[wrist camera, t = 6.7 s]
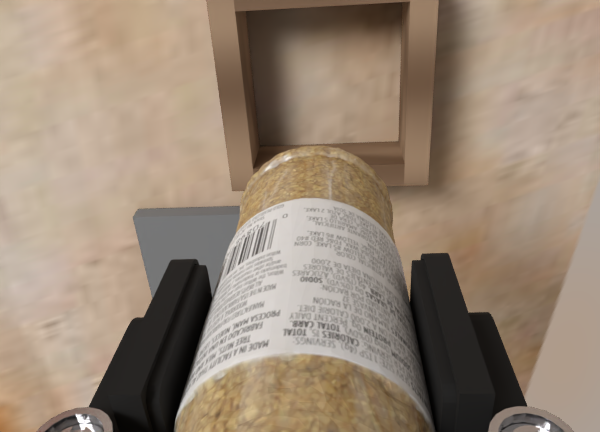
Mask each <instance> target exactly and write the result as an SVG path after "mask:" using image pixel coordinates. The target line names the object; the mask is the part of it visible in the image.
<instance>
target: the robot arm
mask: <svg viewBox="0 0 600 432" xmlns="http://www.w3.org/2000/svg"><path fill="white" fill-rule="evenodd" d="M211 301H212V292H211V286H210V281H209V275H208V270H207V267H206V265H199V262H198V260H197V259H173V260H171V261H170V262H169V264H168V267H167V269H166V271H165V273H164V275H163V277H162V279H161V282H160V284H159V286H158V288H157V290H156V292H155V295H154V297H153V299H152V301H151V303H150V305H149V308H148V310H147V312H146V314H145V316H144V318H134V319H133V320H132V321H131V323H130V324H129V326H128V328H127V330H126V332H125V334H124V336H123V338H122V340H121V342H120V344H119V346H118V348H117V350H116V352H115V354H114V357H113V359H112V361H111V363H110V365H109V367H108V369H107V371H106V373H105V375H104V377H103V379H102V381H101V383H100V385H99V387H98V389H97V391H96V393H95V395H94V397H93V399H92V401H91V403H90V405H89V407H85V408H75V409H72V410H68V411H65V412H63V413H61V414H59V415H57V416H55V417H53V418H51V419H50V420H49V421H47V422H46V423H45V424H43V425H42V426H41V427H40V428H39V429H38V430H37V432H174V426H175V418H176V415H177V412H178V408H179V405H180V402H181V398H182V395H183V392H184V388H185V385H186V382H187V378H188V375H189V372H190V368H191V365H192V362H193V359H194V355H195V352H196V348H197V345H198V342H199V338H200V335H201V332H202V329H203V326H204V323H205V320H206V317H207V314H208V310H209V307H210V304H211ZM410 306H411V311H412V315H413V320H414V325H415V330H416V335H417V340H418V345H419V350H420V355H421V360H422V365H423V370H424V375H425V380H426V385H427V390H428V395H429V400H430V405H431V410H432V415H433V420H434V425H435V430H436V432H574V431H573V430H572V428H571V427H570V426H569V425H567V424H566V423H565V422H564V421H562V420H561V419H560V418H558V417H557V416H555V415H553V414H551V413H549V412H547V411H544V410H540V409H537V408H534V407H527V404H526V401H525V399H524V396H523V394H522V391H521V389H520V386H519V384H518V381H517V378H516V376H515V373H514V371H513V368H512V366H511V363H510V360H509V358H508V355H507V353H506V350H505V348H504V345H503V343H502V340H501V337H500V335H499V332H498V330H497V327H496V325H495V322H494V320H493V318H492V316H491V314H490V313H488V312H479V313H468V310H467V307H466V304H465V301H464V298H463V295H462V292H461V289H460V286H459V283H458V281H457V278H456V275H455V272H454V269H453V266H452V263H451V260H450V257H449V254H448V253H430V254H422V255H421V260H413V261H412V269H411V292H410Z"/></svg>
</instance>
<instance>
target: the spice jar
mask: <svg viewBox="0 0 600 432" xmlns="http://www.w3.org/2000/svg"><path fill="white" fill-rule="evenodd" d="M392 222H393V212H392V205H391V202H390V198H389V194H388V190H387V187H386V185H385V183H384V182H383V181H382V179H381V178H380V177H379V176H378V175H377V173H376V172H375V171H374V169H373V168H371V167H370V166H369V165H368V164H366V163H365V162H364V161H363V160H362V159H360V158H359V157H357V156H355V155H353V154H351V153H349V152H346V151H344V150H342V149H340V148H333V147H328V146H304V147H299V148H297V149H290V150H288V151H285V152H282V153H279V154H278V155H276V156H275V157H273V158H272V159H271V160H269V161H268V162H266V163H265V164H263V165H262V167H261V168H260V169H259V171H258V172H256V173H255V174H254V175H253V176H252V177H251V179H250V180H249V182H248V184H247V186H246V189H245V191H244V193H243V196H242V199H241V204H240V219H239V222H238V226H237V230H236V234H235V236H234V238H233V239H232V241H231V243H230V245H229V248H228V250H227V253H226V256H225V259H224V262H223V265H222V269H221V272H220V275H219V278H218V282H217V285H216V288H215V291H214V294H213V297H212V301H211V304H210V307H209V310H208V314H207V317H206V320H205V323H204V326H203V329H202V332H201V335H200V338H199V342H198V345H197V348H196V352H195V355H194V359H193V362H192V365H191V368H190V372H189V375H188V378H187V382H186V385H185V388H184V392H183V395H182V398H181V402H180V405H179V408H178V412H177V415H176V418H175V426H174V432H436V430H435V425H434V420H433V415H432V410H431V405H430V400H429V395H428V390H427V385H426V380H425V375H424V370H423V365H422V360H421V355H420V350H419V345H418V340H417V335H416V330H415V325H414V320H413V315H412V311H411V306H410V302H409V296H408V291H407V286H406V281H405V277H404V272H403V267H402V262H401V259H400V256H399V253H398V250H397V248H396V245H395V240H394V236H393V230H392Z"/></svg>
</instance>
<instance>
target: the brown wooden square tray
mask: <svg viewBox="0 0 600 432" xmlns="http://www.w3.org/2000/svg"><path fill="white" fill-rule="evenodd" d="M206 2H207V9H208V16H209V24H210V31H211V38H212V46H213V53H214V60H215V68H216V75H217V82H218V90H219V97H220V104H221V112H222V119H223V126H224V134H225V141H226V148H227V156H228V163H229V170H230V178H231V185H232V191H245V189H246V186H247V184H248V182H249V180H250V179H251V177H252V176H253V175H254V174H255V173H256V172H258V171H259V169H260V168H261V167H262V165H263V164H265V163H266V162H268V161H269V160H271V159H272V158H273V157H275V156H276V155H278V154H279V153H282V152H285V151H288V150H290V149H297V148H299V147H304V146H328V147H333V148H340V149H342V150H344V151H346V152H349V153H351V154H353V155H355V156H357V157H359V158H360V159H362V160H363V161H364V162H365V163H366V164H368V165H369V166H370V167H371V168H373V169H374V171H375V172H376V173H377V175H378V176H379V177H380V178H381V179H382V181H383V182H384V183H385V185H386V186H417V185H428V177H429V160H430V142H431V125H432V108H433V91H434V73H435V56H436V39H437V22H438V4H439V0H206ZM394 2H402V37H401V74H400V110H399V141H398V142H371V143H344V144H316V145H289V146H262V147H260V143H259V134H258V124H257V114H256V105H255V95H254V86H253V76H252V67H251V57H250V47H249V38H248V28H247V19H246V11H252V10H270V9H288V8H306V7H323V6H341V5H359V4H376V3H394Z"/></svg>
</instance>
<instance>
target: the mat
mask: <svg viewBox="0 0 600 432" xmlns="http://www.w3.org/2000/svg"><path fill="white" fill-rule="evenodd" d="M239 219H240V206H226V207H191V208H156V209H138V210H137V212H136V213H135V215H134V216H133V220H134V224H135V228H136V233H137V237H138V241H139V245H140V249H141V253H142V257H143V261H144V266H145V270H146V274H147V278H148V282H149V286H150V290H151V295H152V299H153V297H154V295H155V292H156V290H157V288H158V286H159V284H160V282H161V279H162V277H163V275H164V273H165V271H166V269H167V267H168V264H169V262H170V261H171V260H173V259H197V260H198V262H199V265H206V267H207V270H208V275H209V281H210V286H211V292H212V297H213V294H214V291H215V288H216V285H217V282H218V278H219V275H220V272H221V269H222V265H223V262H224V259H225V256H226V253H227V250H228V248H229V245H230V243H231V241H232V239H233V238H234V236H235V234H236V230H237V226H238V222H239Z"/></svg>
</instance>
